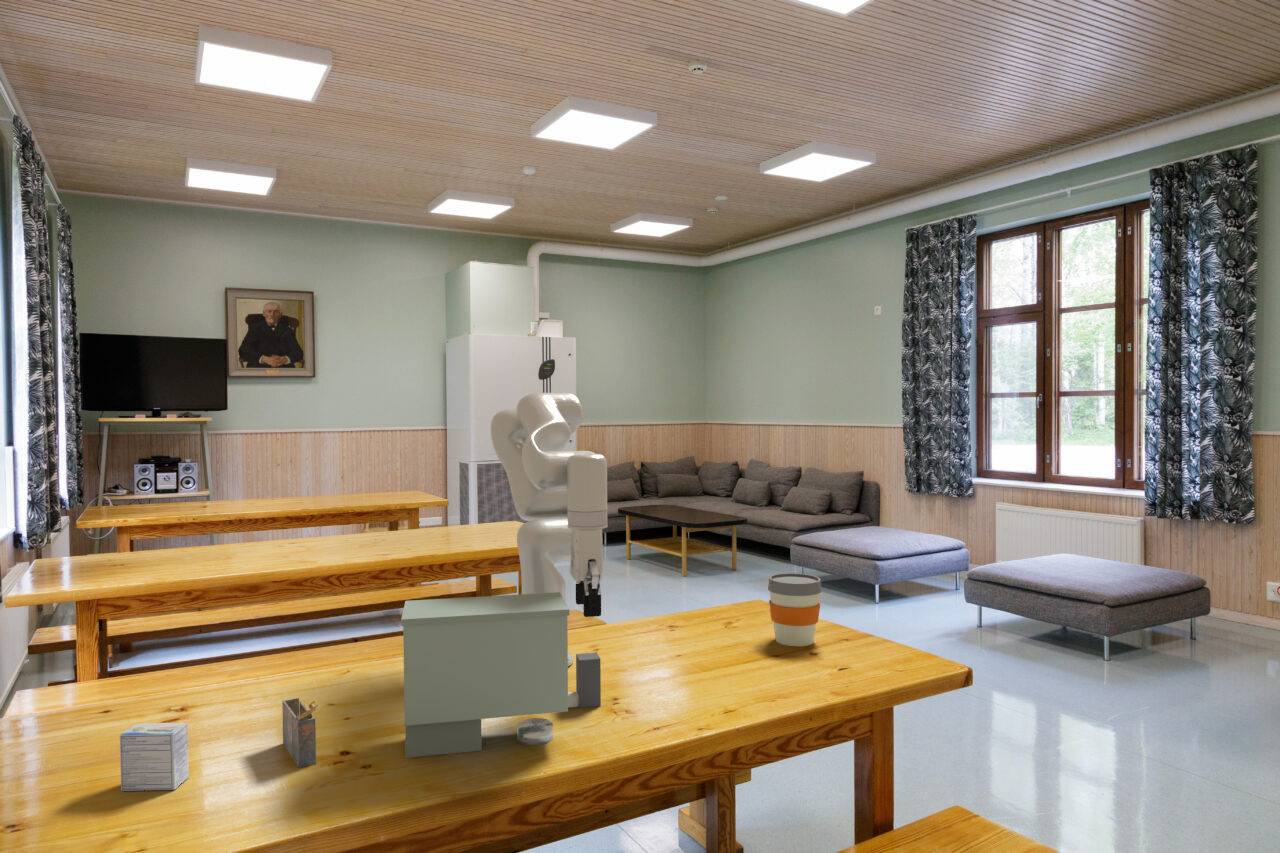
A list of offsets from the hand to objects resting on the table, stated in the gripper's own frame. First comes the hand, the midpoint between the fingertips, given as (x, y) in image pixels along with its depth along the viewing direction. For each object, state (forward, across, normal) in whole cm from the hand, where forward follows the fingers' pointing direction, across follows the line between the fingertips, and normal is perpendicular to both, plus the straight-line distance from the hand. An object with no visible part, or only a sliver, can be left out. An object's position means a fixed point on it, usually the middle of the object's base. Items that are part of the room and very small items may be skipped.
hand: (588, 609), depth 156 cm
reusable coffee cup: (+18, -29, +54) cm, 64 cm away
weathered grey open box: (+18, +11, -50) cm, 54 cm away
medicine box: (+18, +18, -68) cm, 73 cm away
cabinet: (+18, +13, -20) cm, 29 cm away
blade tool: (+18, 0, -7) cm, 19 cm away
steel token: (+18, +14, -12) cm, 26 cm away
